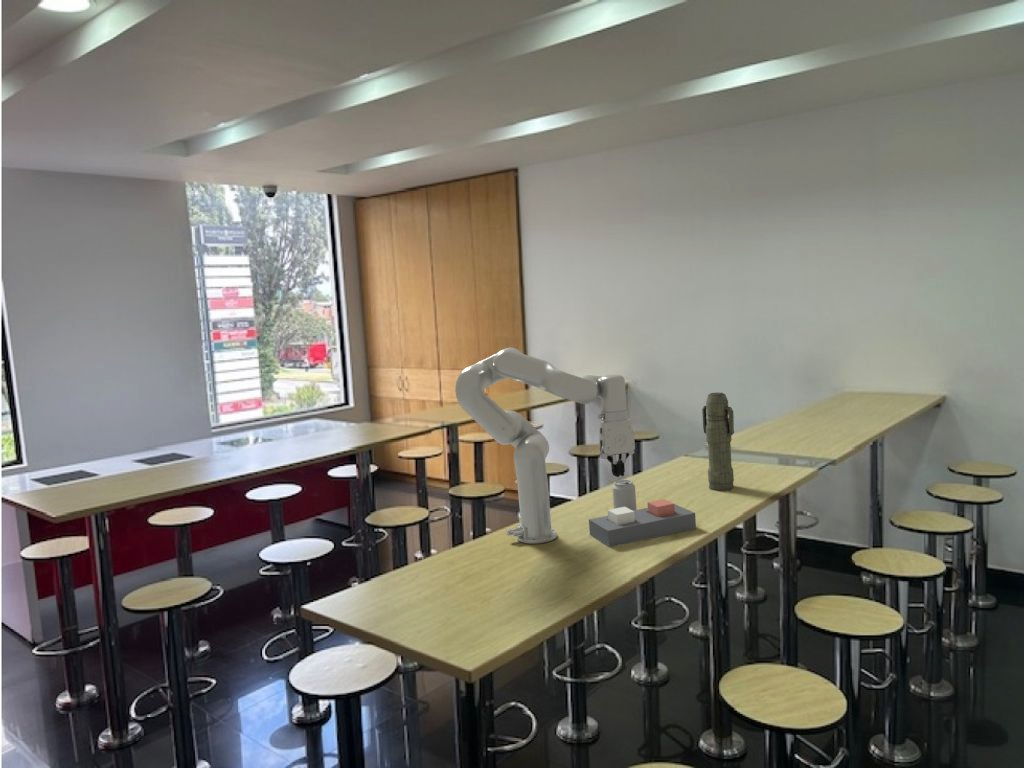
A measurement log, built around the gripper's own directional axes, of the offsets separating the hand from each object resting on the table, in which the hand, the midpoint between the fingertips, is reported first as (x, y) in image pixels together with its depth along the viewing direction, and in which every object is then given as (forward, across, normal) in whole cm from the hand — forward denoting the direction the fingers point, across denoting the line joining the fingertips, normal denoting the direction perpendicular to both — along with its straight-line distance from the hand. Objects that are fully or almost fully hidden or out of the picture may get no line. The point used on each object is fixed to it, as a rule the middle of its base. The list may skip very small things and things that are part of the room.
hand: (618, 475), depth 218 cm
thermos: (+19, +55, +27) cm, 64 cm away
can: (+19, +10, +16) cm, 27 cm away
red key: (+15, +14, 0) cm, 21 cm away
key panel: (+19, +7, 0) cm, 20 cm away
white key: (+15, 0, 0) cm, 15 cm away
